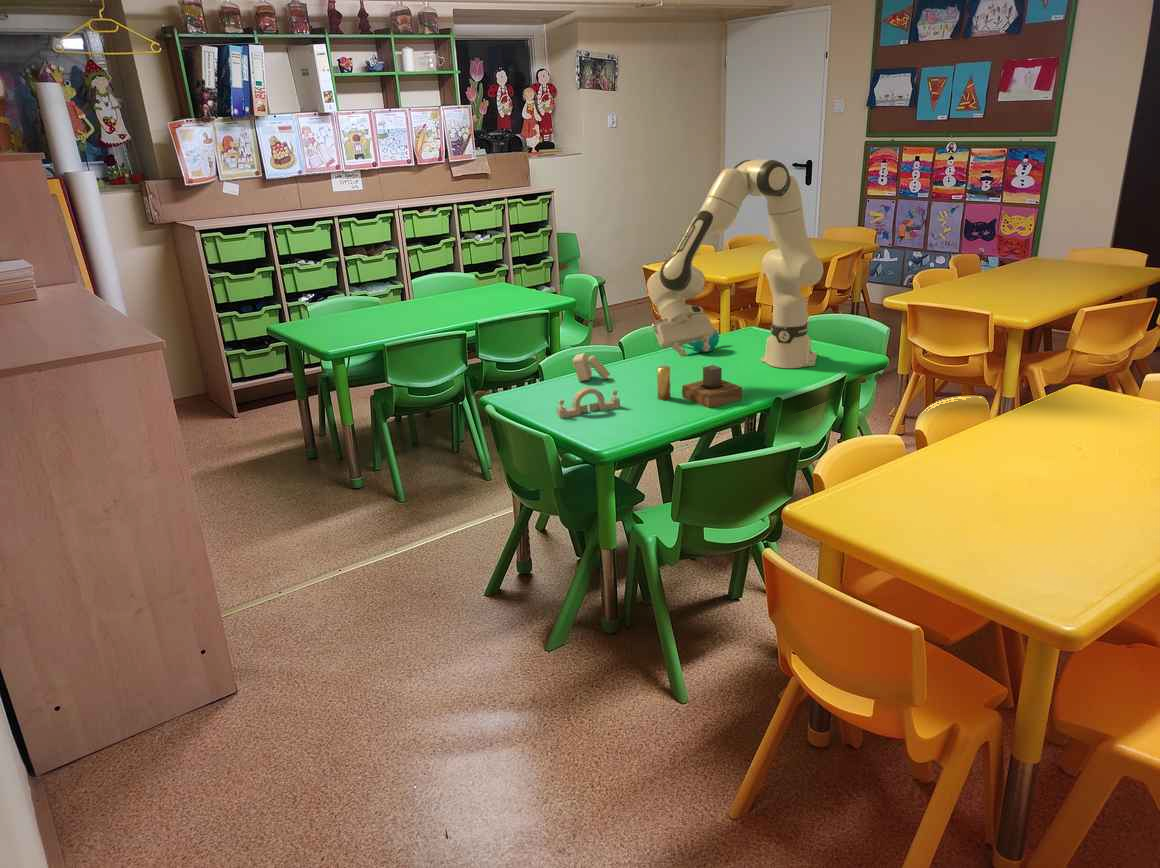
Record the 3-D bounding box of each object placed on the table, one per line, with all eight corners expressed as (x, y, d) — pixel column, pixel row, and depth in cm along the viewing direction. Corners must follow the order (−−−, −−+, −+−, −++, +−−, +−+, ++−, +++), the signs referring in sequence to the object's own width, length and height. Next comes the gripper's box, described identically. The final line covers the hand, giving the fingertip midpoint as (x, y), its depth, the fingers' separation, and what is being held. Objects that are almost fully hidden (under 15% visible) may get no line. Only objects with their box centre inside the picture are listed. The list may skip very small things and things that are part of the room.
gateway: (617, 406, 250) (616, 382, 248) (620, 408, 248) (619, 384, 246) (557, 417, 244) (556, 392, 241) (560, 420, 242) (558, 394, 239)
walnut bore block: (682, 397, 254) (682, 385, 253) (714, 389, 260) (714, 377, 258) (708, 408, 243) (708, 395, 242) (741, 399, 249) (742, 386, 248)
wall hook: (609, 380, 272) (601, 353, 269) (580, 387, 275) (572, 360, 271) (612, 374, 279) (604, 346, 276) (584, 380, 282) (576, 354, 279)
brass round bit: (660, 395, 257) (660, 365, 253) (672, 396, 255) (672, 366, 251) (655, 399, 254) (655, 368, 250) (667, 400, 252) (667, 369, 248)
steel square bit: (702, 398, 252) (703, 367, 249) (712, 395, 254) (713, 364, 251) (711, 401, 249) (711, 370, 246) (721, 398, 251) (721, 367, 247)
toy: (682, 320, 326) (733, 321, 301) (684, 344, 328) (735, 347, 303) (638, 329, 315) (687, 331, 290) (640, 354, 317) (690, 359, 292)
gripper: (653, 316, 251) (673, 353, 246) (705, 306, 260) (725, 341, 256) (646, 328, 256) (665, 364, 251) (697, 317, 265) (716, 352, 261)
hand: (695, 352), depth 254 cm, fingers open, 8 cm apart
